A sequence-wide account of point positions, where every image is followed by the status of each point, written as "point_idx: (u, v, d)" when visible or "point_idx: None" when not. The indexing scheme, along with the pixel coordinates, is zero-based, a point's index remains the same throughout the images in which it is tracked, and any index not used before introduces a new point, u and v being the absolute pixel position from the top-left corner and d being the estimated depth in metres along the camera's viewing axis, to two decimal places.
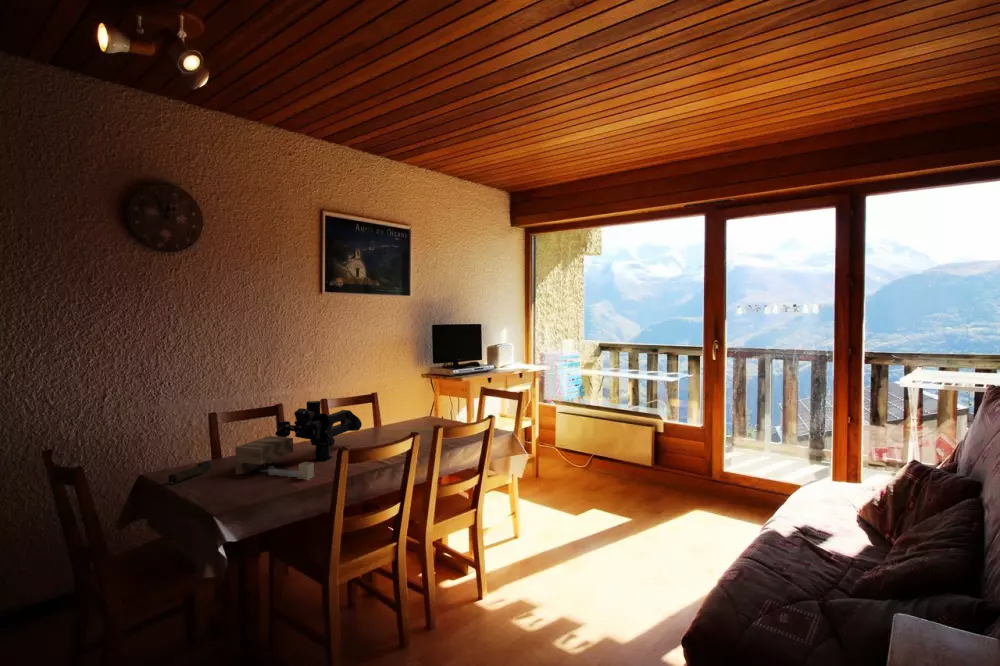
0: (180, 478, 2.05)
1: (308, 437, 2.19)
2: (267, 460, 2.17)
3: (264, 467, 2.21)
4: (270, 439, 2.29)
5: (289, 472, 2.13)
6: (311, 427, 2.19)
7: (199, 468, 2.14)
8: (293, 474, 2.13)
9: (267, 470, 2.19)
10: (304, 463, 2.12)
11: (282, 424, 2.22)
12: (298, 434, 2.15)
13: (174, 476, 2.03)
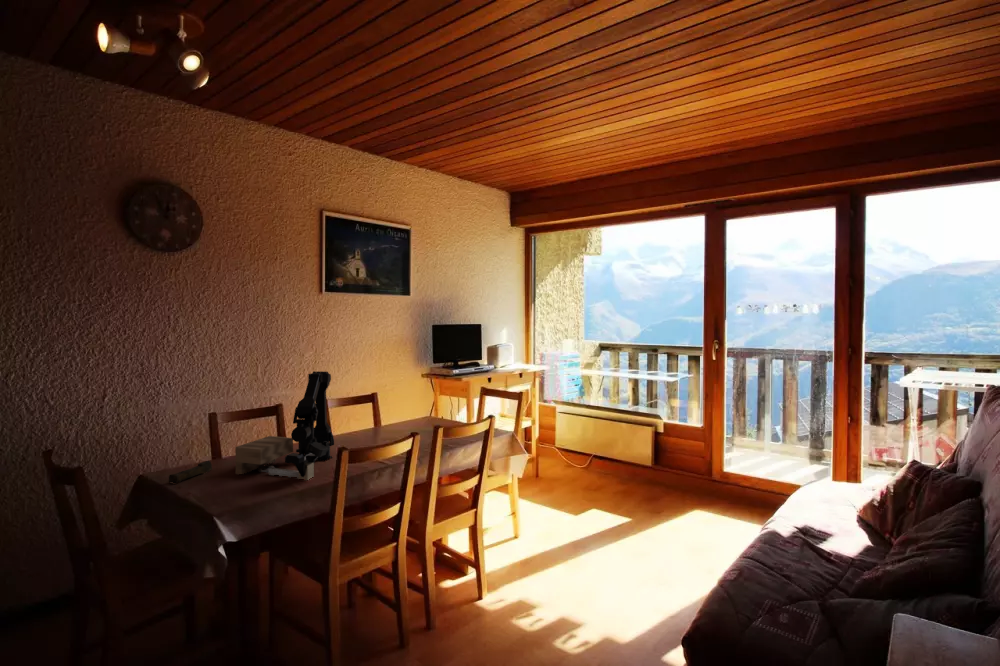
0: (180, 478, 2.05)
1: None
2: (267, 460, 2.17)
3: (264, 467, 2.21)
4: (270, 439, 2.29)
5: (289, 472, 2.13)
6: None
7: (199, 468, 2.14)
8: (293, 474, 2.13)
9: (267, 470, 2.19)
10: None
11: (305, 462, 2.08)
12: None
13: (174, 476, 2.03)
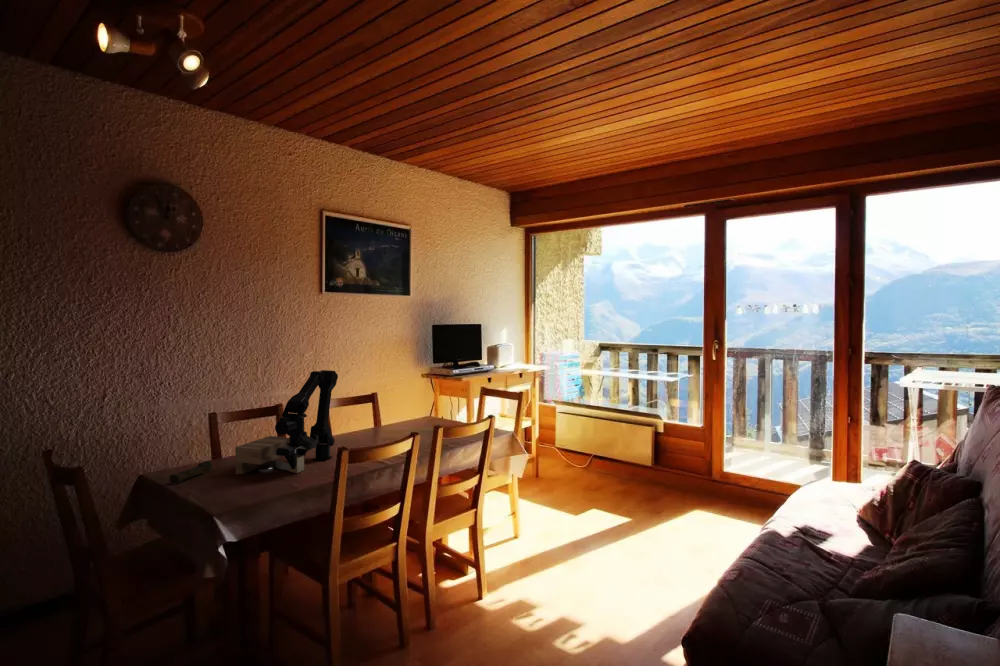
0: (181, 478, 2.05)
1: None
2: (267, 460, 2.17)
3: (264, 467, 2.21)
4: (270, 439, 2.29)
5: (281, 464, 2.22)
6: None
7: (200, 468, 2.14)
8: (285, 466, 2.22)
9: (267, 470, 2.19)
10: None
11: (295, 455, 2.16)
12: None
13: (175, 476, 2.03)
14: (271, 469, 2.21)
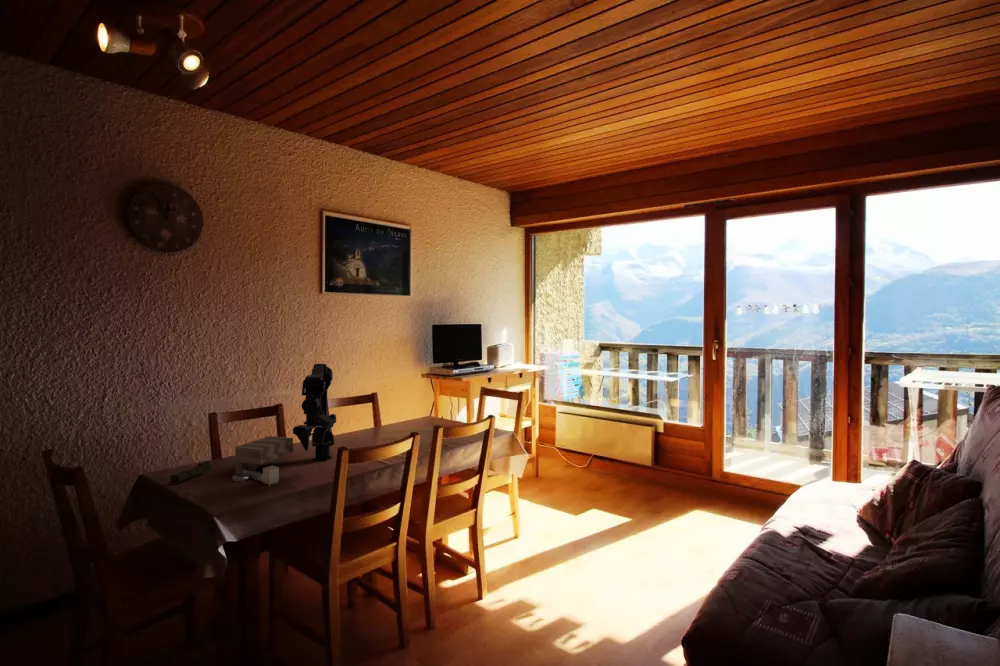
0: (182, 478, 2.05)
1: None
2: (267, 460, 2.17)
3: (239, 476, 2.10)
4: (270, 439, 2.29)
5: (257, 475, 2.09)
6: None
7: (200, 468, 2.14)
8: (260, 477, 2.08)
9: (240, 479, 2.07)
10: (269, 467, 2.06)
11: (309, 436, 2.06)
12: None
13: (176, 476, 2.03)
14: (245, 479, 2.08)
